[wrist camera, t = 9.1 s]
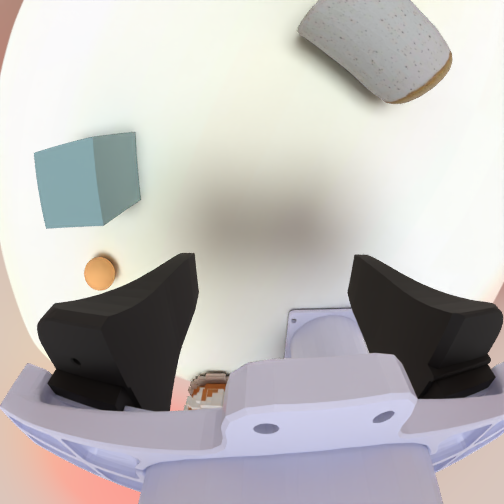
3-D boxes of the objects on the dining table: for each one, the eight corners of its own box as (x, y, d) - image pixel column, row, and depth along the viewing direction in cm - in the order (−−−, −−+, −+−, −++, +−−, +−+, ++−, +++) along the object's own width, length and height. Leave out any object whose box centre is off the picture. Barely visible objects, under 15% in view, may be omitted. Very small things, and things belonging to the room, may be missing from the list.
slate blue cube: (140, 199, 20) (103, 225, 15) (87, 203, 20) (46, 228, 15) (135, 132, 18) (92, 136, 13) (80, 142, 18) (33, 152, 13)
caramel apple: (183, 369, 29) (154, 485, 15) (250, 369, 28) (244, 496, 15) (199, 404, 32) (182, 502, 19) (257, 404, 32) (254, 508, 18)
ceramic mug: (374, 114, 17) (432, 111, 10) (288, 44, 15) (305, -1, 8) (433, 41, 13) (489, 23, 6) (360, -23, 11) (396, -65, 4)
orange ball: (123, 280, 24) (109, 298, 21) (98, 278, 24) (83, 295, 21) (116, 251, 22) (101, 267, 20) (91, 251, 22) (74, 266, 20)
